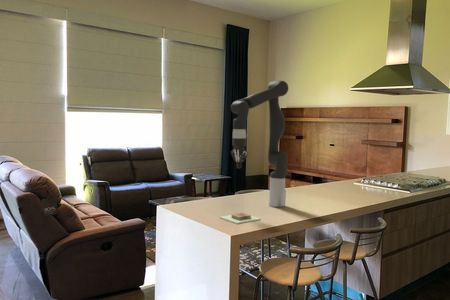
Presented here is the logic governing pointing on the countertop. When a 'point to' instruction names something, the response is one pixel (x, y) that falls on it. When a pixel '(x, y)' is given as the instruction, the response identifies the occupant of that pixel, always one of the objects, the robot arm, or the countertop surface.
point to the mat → (239, 220)
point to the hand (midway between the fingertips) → (238, 168)
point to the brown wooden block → (241, 216)
